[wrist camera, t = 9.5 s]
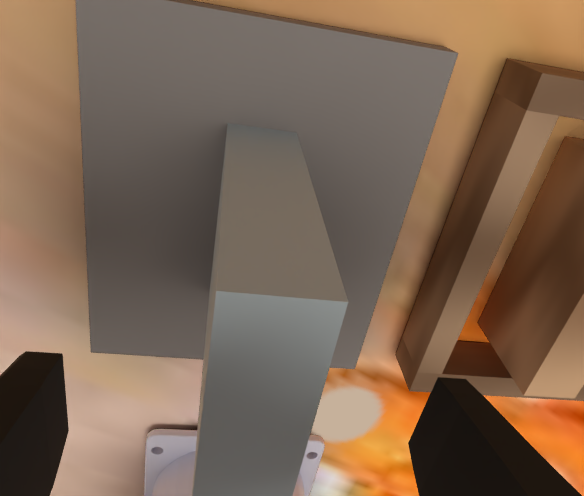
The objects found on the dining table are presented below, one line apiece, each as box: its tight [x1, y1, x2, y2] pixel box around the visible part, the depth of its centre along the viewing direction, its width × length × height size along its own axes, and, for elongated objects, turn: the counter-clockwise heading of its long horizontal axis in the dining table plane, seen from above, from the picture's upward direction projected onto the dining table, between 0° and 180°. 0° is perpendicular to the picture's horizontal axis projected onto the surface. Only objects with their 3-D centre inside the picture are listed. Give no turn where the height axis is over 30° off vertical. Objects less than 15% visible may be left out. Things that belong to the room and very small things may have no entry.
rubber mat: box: [76, 0, 458, 369], centre depth 16 cm, size 12×10×1 cm
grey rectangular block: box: [192, 123, 348, 496], centre depth 12 cm, size 6×2×8 cm, turn 170°
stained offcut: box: [478, 136, 584, 399], centre depth 17 cm, size 8×2×4 cm, turn 170°
